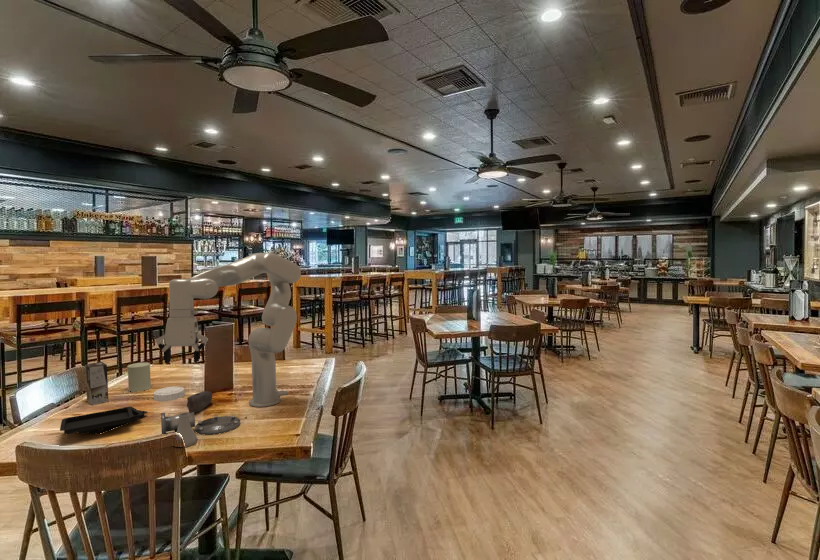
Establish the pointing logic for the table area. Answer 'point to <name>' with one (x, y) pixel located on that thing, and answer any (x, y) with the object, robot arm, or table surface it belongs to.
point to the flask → (186, 429)
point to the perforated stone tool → (199, 401)
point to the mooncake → (169, 393)
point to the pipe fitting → (201, 424)
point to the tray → (100, 421)
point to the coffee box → (96, 382)
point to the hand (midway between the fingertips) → (182, 361)
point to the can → (139, 377)
